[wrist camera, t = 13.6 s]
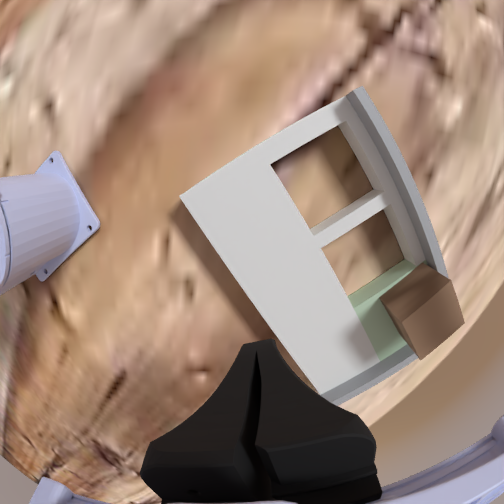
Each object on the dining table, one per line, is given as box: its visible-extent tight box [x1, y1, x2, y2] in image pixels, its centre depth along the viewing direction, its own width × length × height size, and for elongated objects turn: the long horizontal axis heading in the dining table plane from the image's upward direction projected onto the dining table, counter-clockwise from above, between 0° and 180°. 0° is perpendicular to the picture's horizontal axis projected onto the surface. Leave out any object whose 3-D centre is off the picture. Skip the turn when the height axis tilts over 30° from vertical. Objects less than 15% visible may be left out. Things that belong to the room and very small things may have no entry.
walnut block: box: [379, 262, 465, 360], centre depth 18 cm, size 4×4×4 cm
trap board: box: [179, 86, 449, 406], centre depth 20 cm, size 14×21×4 cm, turn 33°
